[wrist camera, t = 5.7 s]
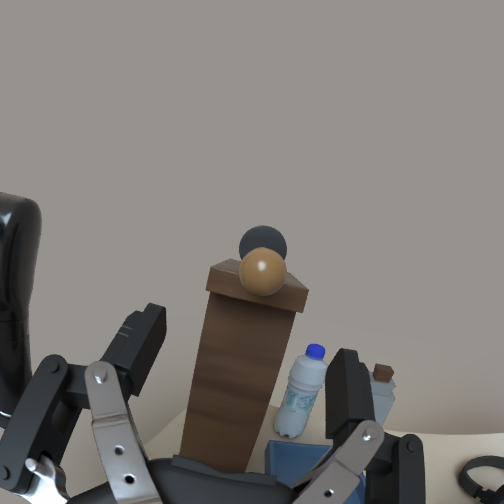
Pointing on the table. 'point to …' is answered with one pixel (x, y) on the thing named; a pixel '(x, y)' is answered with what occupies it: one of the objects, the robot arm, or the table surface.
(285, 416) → the bottle
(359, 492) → the tray
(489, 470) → the table surface
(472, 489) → the headphones
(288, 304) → the brown tall pedestal fixture
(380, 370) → the perfume bottle
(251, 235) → the round carving mallet
